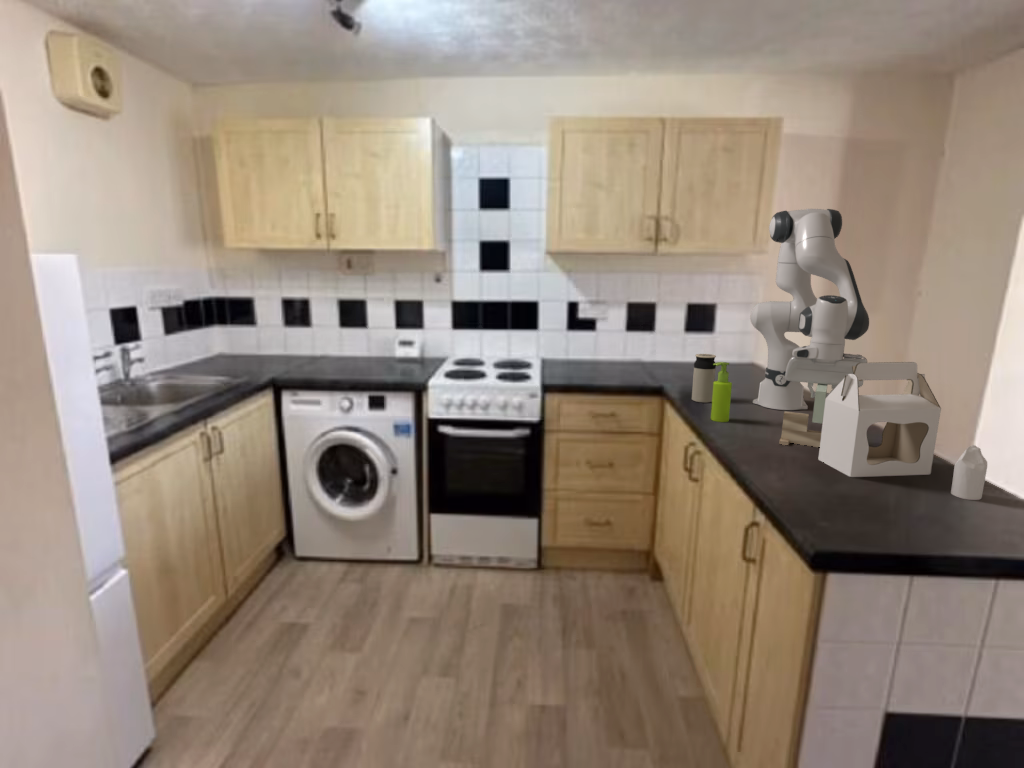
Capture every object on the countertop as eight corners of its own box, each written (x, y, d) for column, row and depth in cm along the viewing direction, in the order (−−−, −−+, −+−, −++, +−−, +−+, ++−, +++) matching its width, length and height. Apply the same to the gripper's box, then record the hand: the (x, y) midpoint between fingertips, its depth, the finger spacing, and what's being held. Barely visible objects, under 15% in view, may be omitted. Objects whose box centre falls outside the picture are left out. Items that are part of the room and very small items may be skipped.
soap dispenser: (704, 418, 195) (708, 361, 190) (720, 416, 197) (725, 360, 193) (716, 423, 189) (720, 364, 185) (732, 421, 192) (737, 363, 187)
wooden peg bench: (781, 437, 173) (784, 409, 172) (851, 447, 164) (855, 417, 162) (779, 444, 167) (782, 415, 165) (851, 455, 158) (855, 424, 156)
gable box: (892, 457, 156) (907, 357, 150) (931, 474, 143) (949, 366, 137) (816, 459, 154) (828, 358, 148) (849, 477, 141) (864, 367, 135)
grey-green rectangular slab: (814, 411, 170) (818, 382, 168) (824, 412, 169) (827, 383, 167) (812, 422, 158) (815, 391, 156) (822, 423, 157) (826, 392, 155)
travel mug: (714, 403, 216) (718, 357, 212) (692, 402, 217) (696, 356, 214) (711, 398, 223) (714, 353, 220) (690, 397, 225) (693, 353, 221)
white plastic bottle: (971, 449, 125) (951, 442, 130) (962, 500, 127) (943, 490, 133) (998, 449, 125) (976, 441, 131) (988, 500, 128) (968, 490, 133)
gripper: (867, 353, 161) (861, 400, 164) (789, 348, 172) (784, 392, 174) (868, 356, 156) (862, 405, 159) (787, 351, 166) (782, 396, 169)
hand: (820, 398), depth 167 cm, fingers closed on grey-green rectangular slab, 2 cm apart
